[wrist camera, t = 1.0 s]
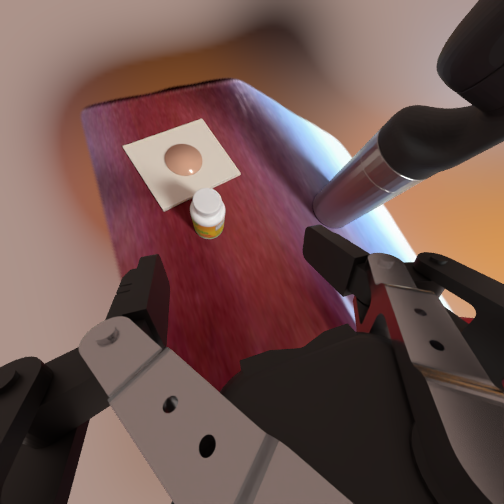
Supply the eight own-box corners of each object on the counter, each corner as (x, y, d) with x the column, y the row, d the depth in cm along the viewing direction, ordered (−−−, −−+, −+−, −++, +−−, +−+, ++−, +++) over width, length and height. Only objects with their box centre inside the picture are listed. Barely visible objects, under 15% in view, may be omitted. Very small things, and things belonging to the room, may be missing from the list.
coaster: (190, 140, 39) (190, 139, 38) (209, 167, 38) (209, 166, 38) (158, 153, 37) (157, 151, 36) (177, 181, 36) (176, 180, 36)
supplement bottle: (188, 228, 35) (178, 202, 26) (206, 207, 37) (203, 176, 27) (211, 245, 35) (210, 225, 26) (229, 224, 37) (234, 198, 27)
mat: (202, 121, 41) (202, 118, 41) (240, 175, 40) (240, 173, 39) (123, 148, 36) (122, 146, 36) (163, 211, 35) (163, 210, 34)
